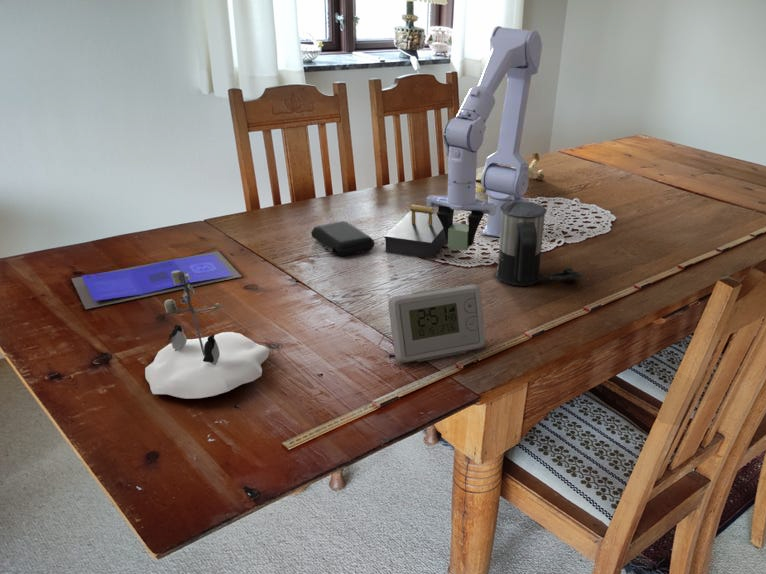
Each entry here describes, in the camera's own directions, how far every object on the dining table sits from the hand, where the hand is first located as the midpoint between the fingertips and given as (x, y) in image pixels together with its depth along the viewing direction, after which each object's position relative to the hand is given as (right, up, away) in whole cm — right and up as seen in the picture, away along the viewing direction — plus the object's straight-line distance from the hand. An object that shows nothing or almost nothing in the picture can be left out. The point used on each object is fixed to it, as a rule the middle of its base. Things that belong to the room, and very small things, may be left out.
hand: (459, 242), depth 147 cm
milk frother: (+16, -9, -5) cm, 19 cm away
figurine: (-38, -27, -39) cm, 61 cm away
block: (0, -1, 0) cm, 1 cm away
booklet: (-59, -9, -13) cm, 61 cm away
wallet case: (-9, +2, +9) cm, 13 cm away
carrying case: (-27, 0, +6) cm, 27 cm away
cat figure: (+12, +24, +48) cm, 56 cm away
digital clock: (-3, -24, -31) cm, 39 cm away
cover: (-9, +4, +7) cm, 13 cm away
